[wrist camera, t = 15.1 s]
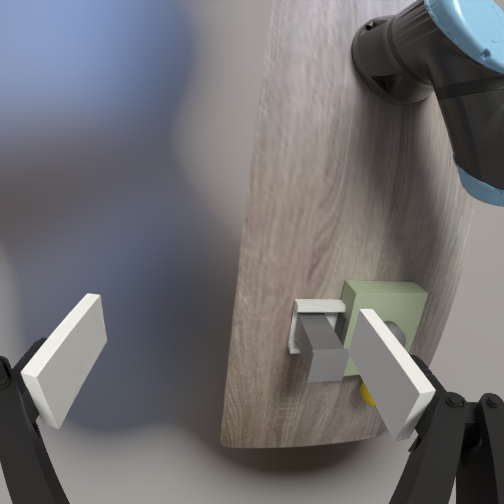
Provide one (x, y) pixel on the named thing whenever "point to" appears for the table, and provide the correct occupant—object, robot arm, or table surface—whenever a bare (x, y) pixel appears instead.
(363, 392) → the lemon
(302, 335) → the gray capped pillar
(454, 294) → the table surface
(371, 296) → the green block with knob
